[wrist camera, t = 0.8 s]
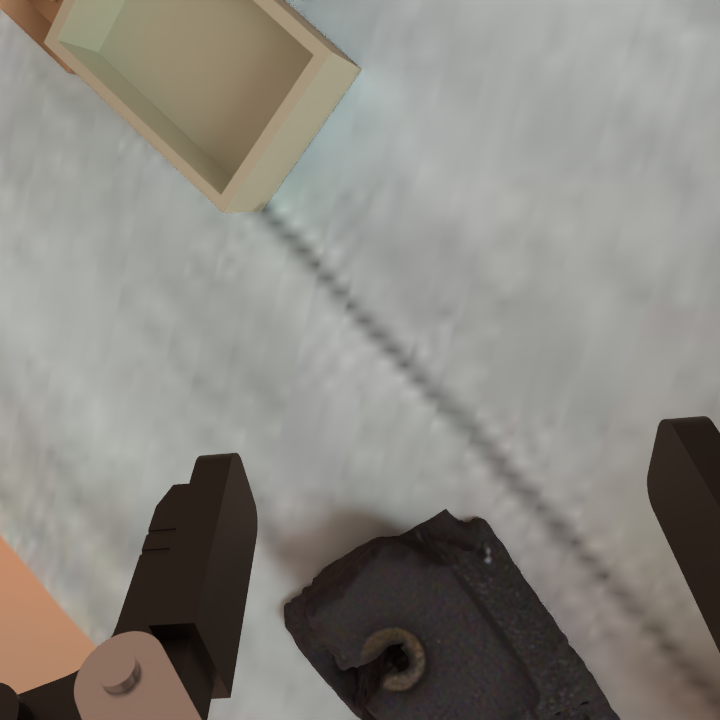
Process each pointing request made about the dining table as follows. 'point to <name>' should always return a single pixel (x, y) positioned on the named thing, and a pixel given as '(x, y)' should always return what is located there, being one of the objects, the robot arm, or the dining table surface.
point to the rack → (35, 20)
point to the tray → (210, 84)
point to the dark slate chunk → (440, 632)
